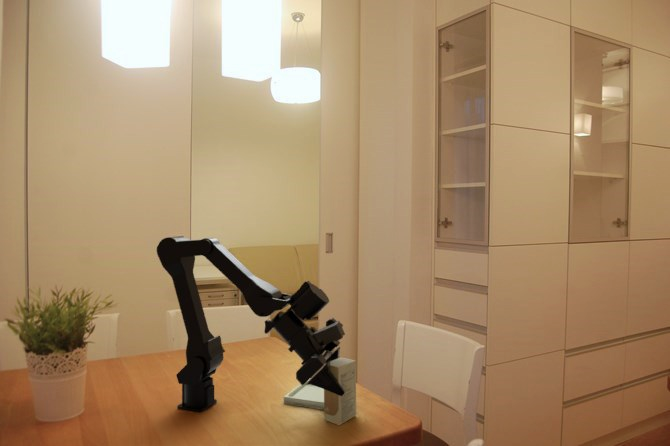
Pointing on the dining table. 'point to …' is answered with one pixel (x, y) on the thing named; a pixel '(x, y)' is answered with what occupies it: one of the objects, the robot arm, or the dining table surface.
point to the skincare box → (345, 405)
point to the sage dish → (306, 396)
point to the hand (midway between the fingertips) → (346, 388)
